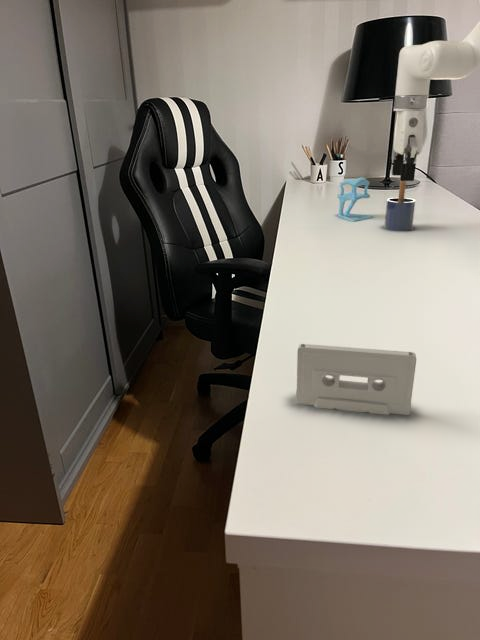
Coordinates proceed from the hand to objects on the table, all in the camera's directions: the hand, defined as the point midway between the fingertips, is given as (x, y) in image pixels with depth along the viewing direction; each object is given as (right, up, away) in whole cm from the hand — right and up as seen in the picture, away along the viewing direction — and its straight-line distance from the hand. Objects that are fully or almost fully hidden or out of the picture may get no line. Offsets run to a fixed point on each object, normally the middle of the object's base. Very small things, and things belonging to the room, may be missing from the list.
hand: (402, 177), depth 126 cm
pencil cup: (0, -13, +5) cm, 14 cm away
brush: (0, -12, +5) cm, 13 cm away
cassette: (-29, -46, -72) cm, 90 cm away
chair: (-8, -7, +20) cm, 22 cm away
